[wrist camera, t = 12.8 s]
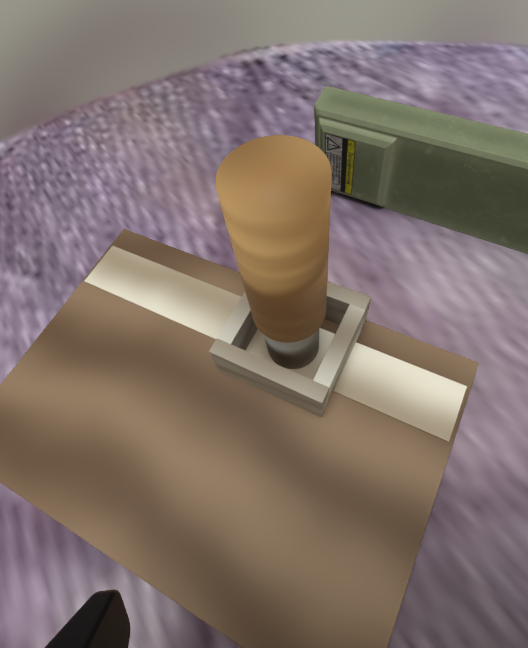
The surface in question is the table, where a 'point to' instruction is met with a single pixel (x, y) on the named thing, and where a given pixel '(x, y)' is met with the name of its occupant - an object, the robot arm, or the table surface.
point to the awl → (280, 239)
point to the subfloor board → (234, 448)
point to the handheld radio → (427, 165)
